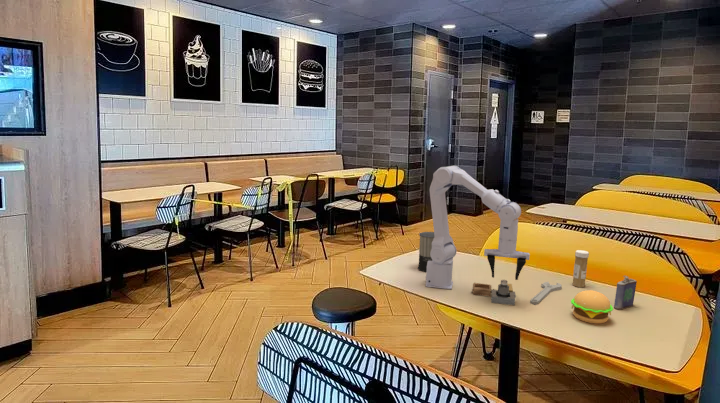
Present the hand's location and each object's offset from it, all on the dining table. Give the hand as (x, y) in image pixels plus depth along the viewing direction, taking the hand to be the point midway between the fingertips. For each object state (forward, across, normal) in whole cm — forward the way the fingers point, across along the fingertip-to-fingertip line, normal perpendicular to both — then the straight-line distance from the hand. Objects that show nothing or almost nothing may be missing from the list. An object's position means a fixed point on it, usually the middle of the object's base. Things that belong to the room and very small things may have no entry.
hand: (504, 277), depth 164 cm
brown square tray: (+8, -7, +6) cm, 12 cm away
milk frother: (+8, -27, +30) cm, 41 cm away
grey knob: (+8, 0, 0) cm, 8 cm away
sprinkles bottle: (+8, +28, +26) cm, 39 cm away
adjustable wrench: (+9, +14, +12) cm, 20 cm away
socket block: (+8, 0, +2) cm, 8 cm away
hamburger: (+8, +26, -6) cm, 28 cm away
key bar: (+8, +2, +7) cm, 11 cm away
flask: (+8, +39, +8) cm, 41 cm away
